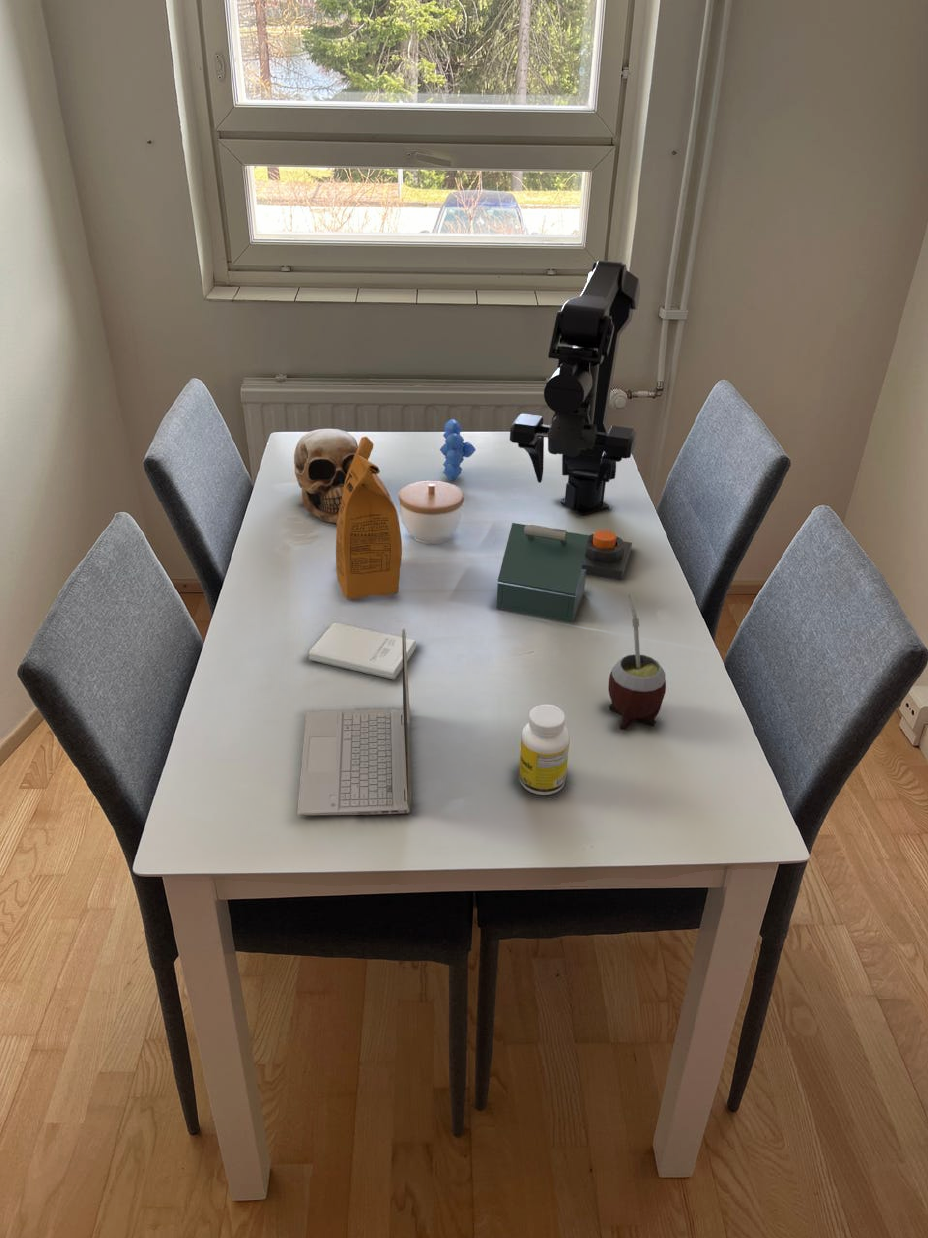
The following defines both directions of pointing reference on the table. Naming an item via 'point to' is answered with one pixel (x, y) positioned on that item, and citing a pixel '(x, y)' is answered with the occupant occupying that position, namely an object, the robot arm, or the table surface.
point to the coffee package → (367, 532)
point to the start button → (604, 539)
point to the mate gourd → (636, 684)
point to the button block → (607, 559)
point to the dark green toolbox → (540, 600)
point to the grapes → (454, 449)
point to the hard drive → (362, 650)
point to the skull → (324, 470)
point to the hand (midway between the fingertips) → (568, 486)
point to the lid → (543, 558)
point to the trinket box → (431, 510)
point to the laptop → (357, 760)
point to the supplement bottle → (544, 751)
